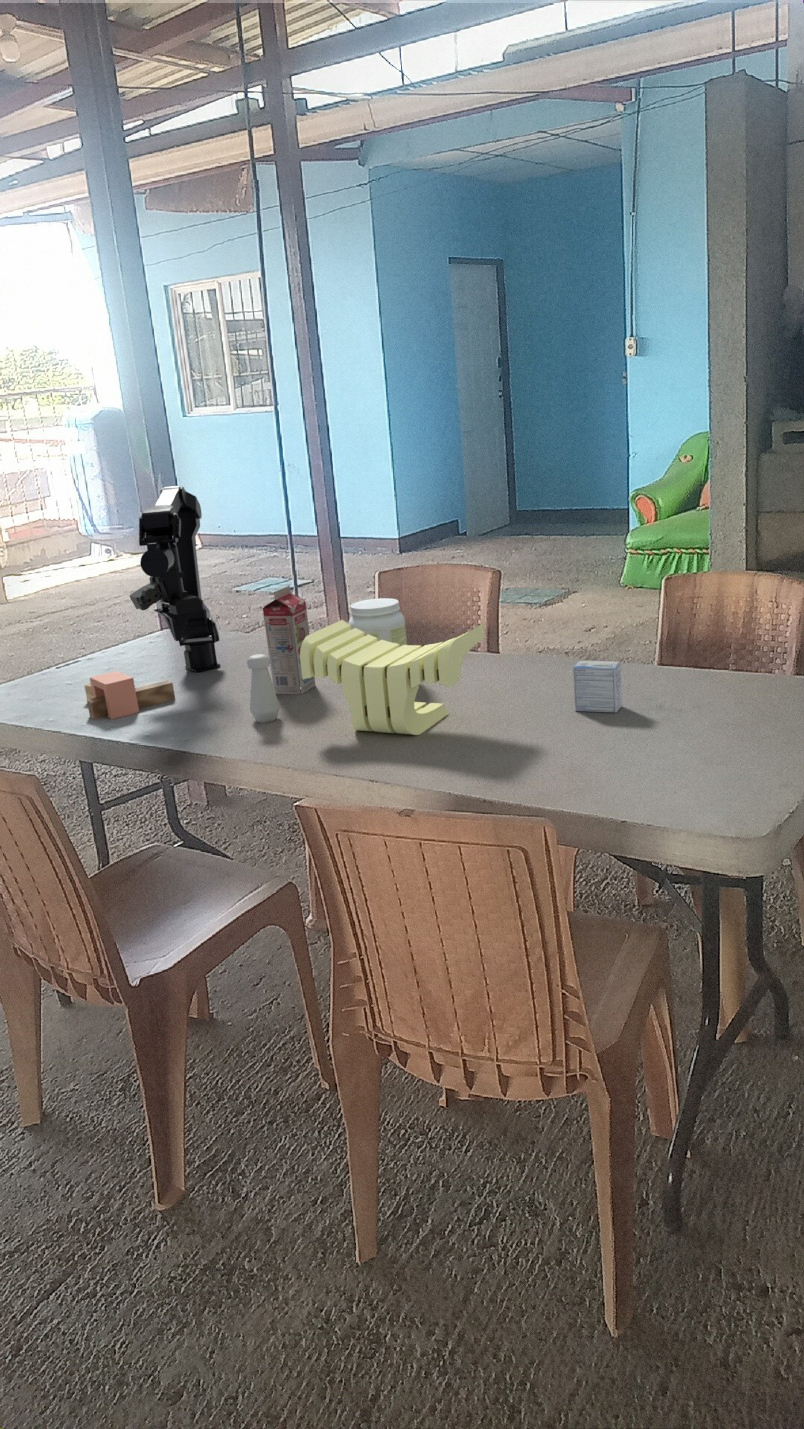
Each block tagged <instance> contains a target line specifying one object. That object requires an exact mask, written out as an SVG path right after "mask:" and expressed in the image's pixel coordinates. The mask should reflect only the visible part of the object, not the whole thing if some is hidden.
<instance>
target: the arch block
mask: <svg viewBox="0 0 804 1429" xmlns="http://www.w3.org/2000/svg"><path fill="white" fill-rule="evenodd" d="M89 680H90V681H89V682H90V683H91V688H92V693H93V698H97V697H101V696H105V700H106V705H107V711H108V719H109V720H110V719H111V720H114V719H119V718H122V717H126V716H130V715H133V714H138V713H139V712H140V708H138V703H137V697H136V691H135V688H136V686H135V680H134V677H132V676H130V675H127V674H125V673H122V672H120V671H117V670H114V671H110V672H106V673H102V674H98V675H94V676H89Z"/></svg>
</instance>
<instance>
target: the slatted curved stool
mask: <svg viewBox="0 0 804 1429" xmlns="http://www.w3.org/2000/svg"><path fill="white" fill-rule="evenodd" d="M484 624H485V623H484V622H483V623H481V624H479V625H478V626H476V627H475V628H473V629H471V630H469V631H467V632H464V633H463V634H461V635H459V636H456V637H453V638H450V639H447V640H446V641H440V642H436V643H431V644H430V643H429V644H425V645H424V646H422V645H411V644H407V645H402V646H401V647H400V646H399V644H396V643H392V642H388V641H385V640H380V641H378V640H377V638H376V637H374V636H371V635H369V634H368V635H366V636H364V632H363V631H361V630H359V629H357V628H354V629H352V630H351V625H350V624H348V622H347V621H345V620H343V619H340V620H339V621H338V620H337V621H336V622H334V623H332V624H330V625H327V626H325V627H323V628H321V629H319V630H316V631H314V632H312V633H309V635H308V636H306V638H305V639H304V640H303V642H302V645H301V649H300V662H301V670H302V679H307V678H311V677H313V676H314V677H315V678H323V679H324V678H326V677H328V678H327V679H328V680H330V681H332V682H333V683H335V684H337V685H340V684H341V686H342V692H343V695H344V698H345V700H346V702H347V706H348V707H349V711H350V715H351V721H352V726H353V730H354V731H360V732H361V731H362V732H376V733H388V734H399V735H413V736H419V735H422V734H423V733H424V732H426V731H427V730H428V729H430V728H431V727H432V726H434V725H435V724H437V723H438V722H439V721H440V720H443V718H445V717H447V715H449V714H450V713H449V711H448V709H447V707H446V705H445V704H444V703H439V702H438V703H437V702H429V704H427V702H420V701H416V697H417V693H418V691H419V688H420V685H421V684H423V683H425V684H437V683H438V682H439V685H440V686H444V687H447V688H452V686H455V685H456V684H458V682H461V672H462V665H463V662H464V659H465V658H466V656H467V654H469V652H470V651H471V650H472V649H473V648H474V647H475V645H477V644H479V643H480V642H481V641H482V640H484V639H485V625H484Z"/></svg>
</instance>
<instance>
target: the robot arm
mask: <svg viewBox="0 0 804 1429" xmlns="http://www.w3.org/2000/svg"><path fill="white" fill-rule="evenodd" d="M159 493H160V494H159V497H158V499H157V501H156V502H155V505H154V506H152V507H147V508H145V509H144V510H143V511H142V512H141V515H140V516H139V518H138V523H139V524H138V543H139V544H138V546H139V547H144V546H146V547H147V549H146V551H144V552H143V554H141V558H140V562H139V563H140V568H141V570H142V571H143V572H144V573H145V575H146V576H149V583H147V584H146V585H144V586H142V587H140V588H138V589H137V590H135V591H134V592H132V593H130V594H129V598H130V600H131V602H132V604H133V606H134V607H135V610H141V611H146V610H148V609H149V608H150V607H151V606H153V605H154V604H156V608H155V609H154V612H155V613H157V614H158V615H160V616H162V617H163V619H164V621H165V622H166V625H167V626H168V629H169V632H171V635H172V638H173V639H174V640H173V641H175V642H178V644H179V647H184V648H185V649H184V651H183V655H184V662H185V663H184V664H185V666H184V668H185V669H186V670H190V671H192V672H195V673H199V672H204V671H208V670H211V669H215V668H218V667H219V668H220V667H221V663H218V660H217V659H218V658H217V654H216V653H217V652H216V646H215V644H216V643H217V642H220V641H221V640H220V634H219V630H218V628H217V624H216V622H215V621H214V618H213V617H211V611H210V609H209V608H208V607H207V605H206V604H205V603H204V601H203V599H202V593H201V592H202V591H201V583H200V574H199V573H200V572H199V564H198V555H197V545H196V536H197V534H198V532H199V529H200V528H201V520H202V517H203V516H202V515H203V514H202V508H201V503H200V502H199V500H198V497H197V496H196V495H194V494H192V493H190V492H188V491H187V490H186V489H185V487H184V486H181V485H175V486H174V485H173V486H164V487H163V488H160V492H159Z"/></svg>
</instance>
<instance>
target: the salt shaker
mask: <svg viewBox="0 0 804 1429" xmlns="http://www.w3.org/2000/svg"><path fill="white" fill-rule="evenodd" d="M246 661H247V662H246V664H247V668H248V669H249V670H251V679H250V680H251V681H250V683H251V684H250V697H249V698H250V701H249V711H250V714H251V715H252V716H253V718H254V720H255V721H256V723H262V724H265V723H270V722H271V723H272V722H274V721H275V720H276V719H278V715H279V712H280V708H281V707H280V703H279V698H278V697H277V694H276V693H275V690H274V687H273V683H272V676H271V675H270V671H269V669H268V667H269V666H270V660H269V655H266V654H263V653H260V654H259V653H257V654H253V655H251V656H249V657H248V658H247V660H246Z"/></svg>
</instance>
